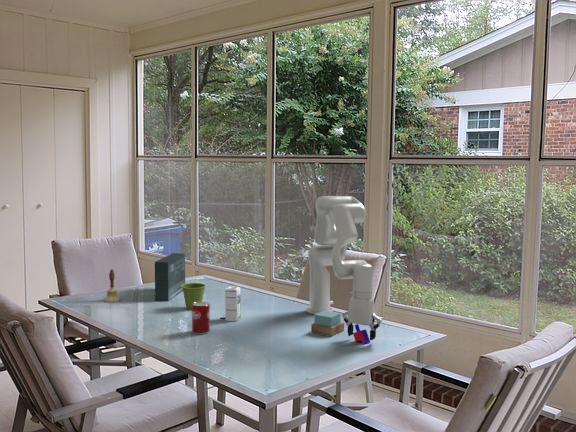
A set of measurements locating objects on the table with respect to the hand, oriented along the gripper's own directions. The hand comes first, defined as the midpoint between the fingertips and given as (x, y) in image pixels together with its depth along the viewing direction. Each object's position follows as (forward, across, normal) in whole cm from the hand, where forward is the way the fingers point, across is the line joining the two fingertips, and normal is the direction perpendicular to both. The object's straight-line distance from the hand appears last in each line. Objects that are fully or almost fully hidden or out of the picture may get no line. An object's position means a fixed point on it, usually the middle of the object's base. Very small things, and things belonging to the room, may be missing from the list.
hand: (361, 337), depth 233 cm
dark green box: (+2, -120, +13) cm, 121 cm away
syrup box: (+2, -62, -5) cm, 62 cm away
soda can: (+2, -60, -28) cm, 66 cm away
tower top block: (-2, -18, +4) cm, 19 cm away
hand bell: (+2, -134, -14) cm, 135 cm away
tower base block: (+2, -18, +4) cm, 18 cm away
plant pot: (+2, -90, -1) cm, 90 cm away
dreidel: (+2, 0, 0) cm, 2 cm away
